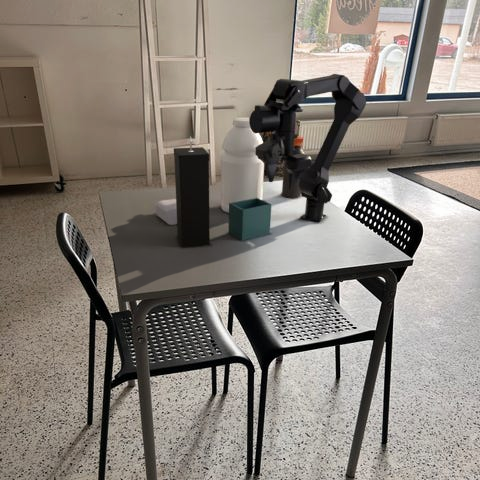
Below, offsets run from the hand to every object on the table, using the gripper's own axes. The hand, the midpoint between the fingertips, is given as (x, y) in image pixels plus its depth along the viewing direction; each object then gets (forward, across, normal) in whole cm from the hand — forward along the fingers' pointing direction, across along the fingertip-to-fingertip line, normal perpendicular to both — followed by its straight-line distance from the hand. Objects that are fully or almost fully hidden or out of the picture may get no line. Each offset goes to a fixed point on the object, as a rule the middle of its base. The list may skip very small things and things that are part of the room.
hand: (280, 186), depth 145 cm
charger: (+13, -25, -23) cm, 36 cm away
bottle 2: (+13, -22, +24) cm, 34 cm away
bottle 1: (+13, -19, 0) cm, 23 cm away
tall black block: (+13, -3, -28) cm, 31 cm away
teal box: (+8, 0, -11) cm, 13 cm away
